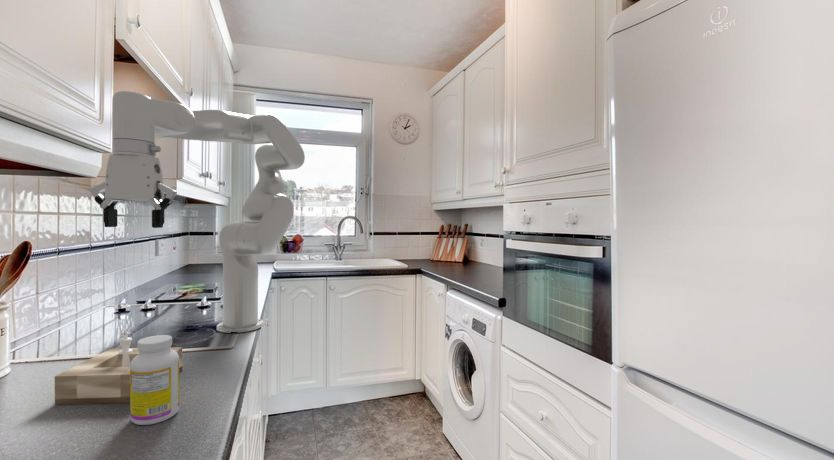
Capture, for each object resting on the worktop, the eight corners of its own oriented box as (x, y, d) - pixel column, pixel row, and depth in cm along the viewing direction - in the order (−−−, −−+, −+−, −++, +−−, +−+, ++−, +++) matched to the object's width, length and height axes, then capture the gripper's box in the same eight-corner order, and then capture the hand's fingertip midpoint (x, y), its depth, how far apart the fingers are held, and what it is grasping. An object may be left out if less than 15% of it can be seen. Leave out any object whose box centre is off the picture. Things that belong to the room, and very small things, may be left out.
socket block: (111, 372, 79) (111, 348, 79) (182, 370, 80) (182, 347, 80) (54, 404, 65) (54, 376, 65) (141, 402, 66) (141, 374, 66)
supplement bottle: (153, 404, 66) (153, 331, 65) (188, 407, 65) (188, 333, 65) (119, 425, 59) (118, 344, 59) (158, 428, 58) (158, 346, 58)
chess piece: (123, 387, 70) (123, 333, 70) (102, 384, 71) (102, 331, 71) (148, 376, 75) (147, 326, 74) (127, 373, 76) (127, 324, 75)
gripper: (184, 154, 88) (184, 227, 89) (104, 151, 86) (104, 226, 87) (166, 148, 81) (166, 228, 81) (78, 145, 79) (79, 227, 79)
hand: (134, 227), depth 84 cm, fingers open, 9 cm apart
